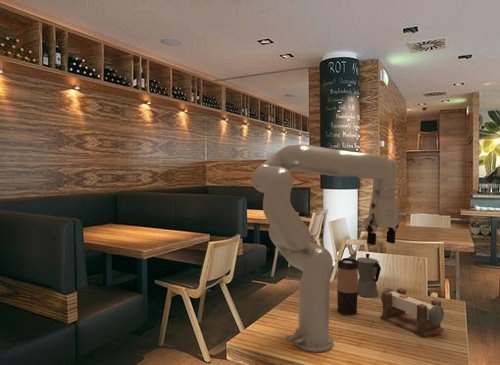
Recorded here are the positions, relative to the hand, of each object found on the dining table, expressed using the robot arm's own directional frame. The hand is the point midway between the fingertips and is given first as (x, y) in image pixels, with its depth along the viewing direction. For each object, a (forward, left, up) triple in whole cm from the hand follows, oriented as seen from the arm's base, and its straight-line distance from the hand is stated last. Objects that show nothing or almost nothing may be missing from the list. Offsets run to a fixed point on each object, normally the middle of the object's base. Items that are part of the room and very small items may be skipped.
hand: (381, 243), depth 130 cm
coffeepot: (+23, +25, -30) cm, 45 cm away
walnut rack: (+12, -4, -30) cm, 32 cm away
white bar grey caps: (+12, -4, -26) cm, 29 cm away
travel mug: (+1, +16, -30) cm, 34 cm away
